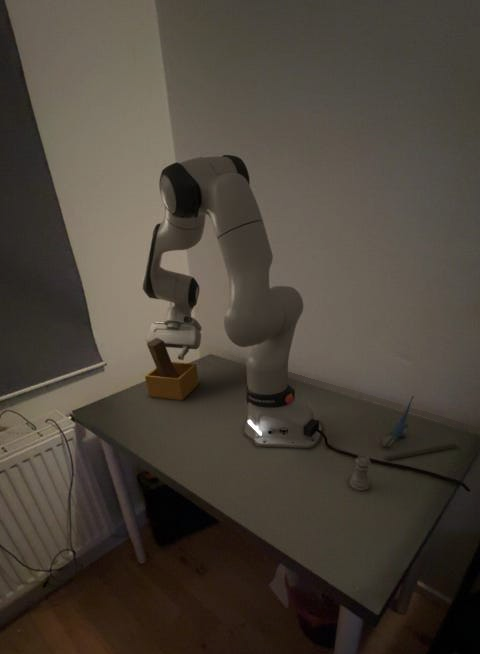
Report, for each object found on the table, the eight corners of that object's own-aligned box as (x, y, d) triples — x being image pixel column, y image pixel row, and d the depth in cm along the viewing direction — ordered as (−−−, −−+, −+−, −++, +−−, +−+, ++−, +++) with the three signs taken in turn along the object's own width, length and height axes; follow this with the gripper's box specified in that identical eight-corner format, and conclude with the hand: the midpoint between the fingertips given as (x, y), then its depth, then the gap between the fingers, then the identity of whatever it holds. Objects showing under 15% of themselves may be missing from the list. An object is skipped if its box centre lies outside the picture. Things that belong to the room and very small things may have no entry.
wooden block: (186, 387, 127) (171, 343, 115) (177, 393, 125) (160, 350, 113) (172, 379, 132) (156, 337, 120) (163, 385, 130) (145, 343, 118)
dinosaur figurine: (389, 446, 99) (378, 444, 91) (410, 396, 96) (401, 390, 89) (399, 450, 97) (389, 449, 90) (421, 399, 95) (412, 394, 87)
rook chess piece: (365, 478, 83) (370, 451, 79) (372, 491, 79) (377, 463, 75) (346, 479, 83) (350, 452, 79) (352, 492, 79) (356, 465, 75)
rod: (455, 448, 91) (456, 446, 90) (389, 461, 88) (389, 459, 88) (453, 447, 91) (454, 445, 91) (387, 459, 89) (388, 457, 88)
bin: (198, 383, 133) (196, 364, 129) (182, 400, 122) (178, 379, 118) (167, 380, 137) (164, 361, 133) (149, 396, 127) (144, 376, 122)
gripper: (148, 316, 126) (138, 352, 123) (199, 319, 119) (190, 356, 117) (156, 325, 132) (148, 359, 129) (205, 327, 125) (197, 363, 123)
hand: (168, 358), depth 123 cm, fingers open, 8 cm apart
